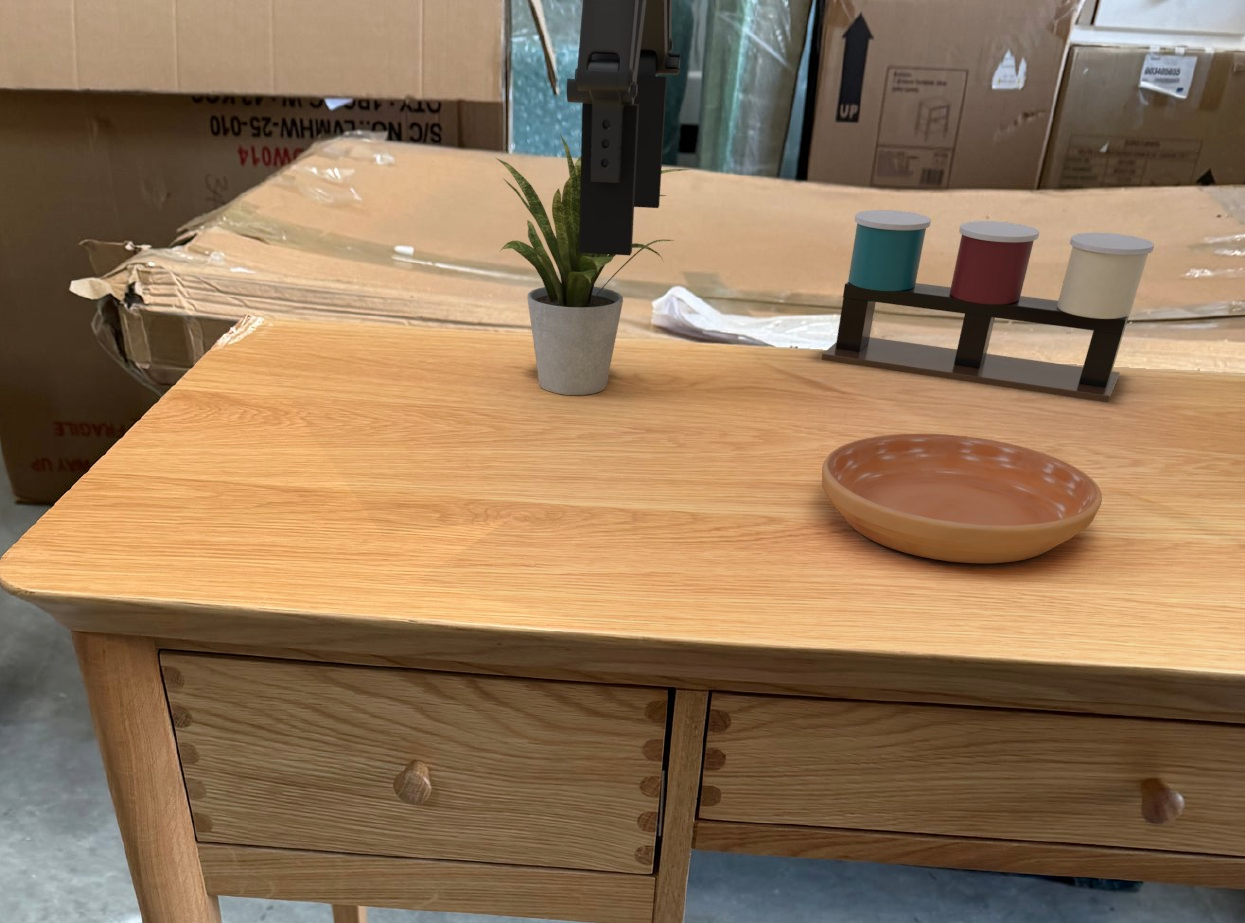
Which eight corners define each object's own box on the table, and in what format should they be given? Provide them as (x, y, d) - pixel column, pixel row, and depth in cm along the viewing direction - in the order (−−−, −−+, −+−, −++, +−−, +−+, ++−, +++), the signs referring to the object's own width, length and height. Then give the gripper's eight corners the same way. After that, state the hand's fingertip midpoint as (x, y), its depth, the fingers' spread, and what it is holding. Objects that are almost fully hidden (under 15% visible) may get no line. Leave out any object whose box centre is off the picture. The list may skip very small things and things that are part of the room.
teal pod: (933, 286, 94) (947, 220, 91) (882, 295, 92) (894, 227, 89) (880, 272, 98) (891, 207, 95) (829, 280, 95) (839, 213, 92)
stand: (1104, 412, 90) (1130, 326, 86) (820, 369, 97) (832, 287, 93) (1115, 388, 95) (1140, 305, 91) (843, 348, 102) (855, 270, 98)
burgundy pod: (1038, 300, 92) (1055, 231, 89) (988, 309, 89) (1004, 239, 86) (980, 284, 95) (994, 218, 92) (930, 292, 93) (944, 225, 90)
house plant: (709, 408, 89) (735, 148, 78) (533, 426, 85) (536, 154, 74) (630, 356, 99) (643, 119, 88) (470, 370, 95) (464, 123, 84)
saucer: (861, 460, 81) (869, 414, 79) (1108, 507, 75) (1123, 459, 73) (777, 541, 70) (784, 490, 68) (1059, 604, 64) (1075, 550, 62)
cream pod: (1149, 313, 89) (1171, 244, 86) (1101, 323, 87) (1122, 252, 84) (1085, 297, 93) (1103, 229, 90) (1037, 306, 90) (1054, 237, 87)
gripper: (602, -270, 65) (589, 187, 78) (508, -350, 46) (513, 272, 59) (742, -269, 64) (705, 193, 77) (707, -350, 45) (665, 281, 58)
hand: (622, 228), depth 68 cm, fingers open, 13 cm apart
